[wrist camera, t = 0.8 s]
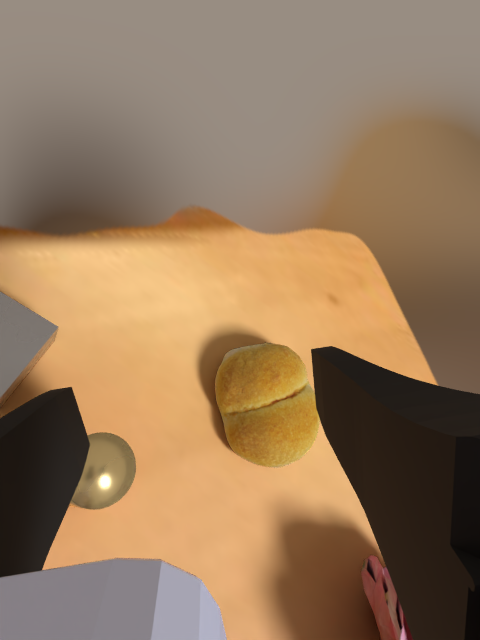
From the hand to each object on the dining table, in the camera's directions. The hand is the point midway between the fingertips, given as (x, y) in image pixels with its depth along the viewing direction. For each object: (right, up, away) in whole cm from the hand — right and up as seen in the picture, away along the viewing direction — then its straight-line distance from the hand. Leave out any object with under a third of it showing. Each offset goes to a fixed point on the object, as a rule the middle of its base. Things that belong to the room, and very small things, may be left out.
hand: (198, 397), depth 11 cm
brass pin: (-8, -7, +10) cm, 14 cm away
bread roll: (+3, -4, +18) cm, 19 cm away
